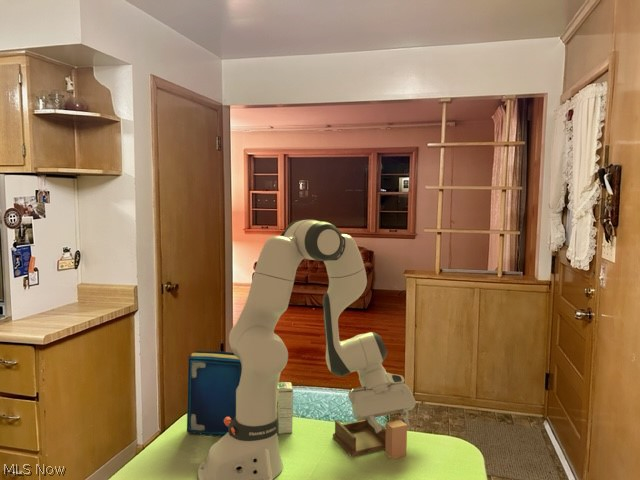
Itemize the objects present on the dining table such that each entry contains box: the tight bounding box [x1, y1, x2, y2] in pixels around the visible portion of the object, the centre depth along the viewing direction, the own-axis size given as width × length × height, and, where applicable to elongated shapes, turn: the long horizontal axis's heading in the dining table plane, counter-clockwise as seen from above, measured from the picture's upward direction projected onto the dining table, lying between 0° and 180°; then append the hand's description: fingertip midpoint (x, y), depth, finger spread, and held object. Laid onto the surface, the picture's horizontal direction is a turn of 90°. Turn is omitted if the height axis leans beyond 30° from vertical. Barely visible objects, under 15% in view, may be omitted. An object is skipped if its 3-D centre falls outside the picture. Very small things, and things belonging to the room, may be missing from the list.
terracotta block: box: [384, 419, 408, 460], centre depth 130 cm, size 5×3×9 cm
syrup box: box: [277, 381, 294, 435], centre depth 144 cm, size 6×6×14 cm
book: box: [186, 350, 242, 437], centre depth 142 cm, size 22×7×25 cm, turn 84°
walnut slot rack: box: [332, 419, 386, 457], centre depth 136 cm, size 13×12×5 cm
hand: (393, 429), depth 131 cm, fingers open, 8 cm apart
